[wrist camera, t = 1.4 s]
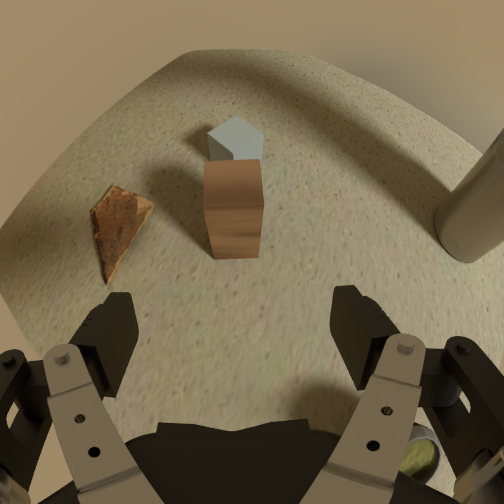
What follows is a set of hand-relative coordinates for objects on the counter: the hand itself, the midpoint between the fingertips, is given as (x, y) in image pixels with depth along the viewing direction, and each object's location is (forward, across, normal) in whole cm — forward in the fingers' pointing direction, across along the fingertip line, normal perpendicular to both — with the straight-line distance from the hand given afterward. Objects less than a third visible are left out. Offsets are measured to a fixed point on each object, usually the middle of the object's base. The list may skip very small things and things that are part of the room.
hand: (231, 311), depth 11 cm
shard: (+22, +12, +3) cm, 26 cm away
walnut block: (+21, 0, +4) cm, 21 cm away
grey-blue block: (+28, -1, -4) cm, 28 cm away
